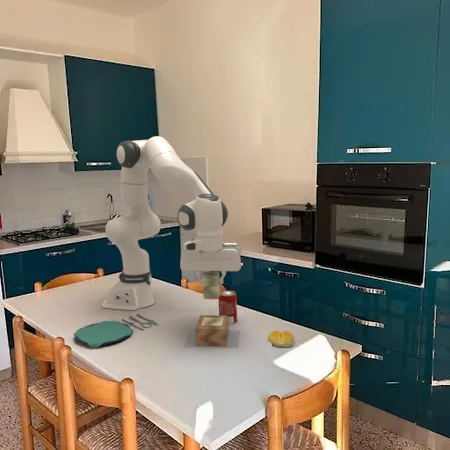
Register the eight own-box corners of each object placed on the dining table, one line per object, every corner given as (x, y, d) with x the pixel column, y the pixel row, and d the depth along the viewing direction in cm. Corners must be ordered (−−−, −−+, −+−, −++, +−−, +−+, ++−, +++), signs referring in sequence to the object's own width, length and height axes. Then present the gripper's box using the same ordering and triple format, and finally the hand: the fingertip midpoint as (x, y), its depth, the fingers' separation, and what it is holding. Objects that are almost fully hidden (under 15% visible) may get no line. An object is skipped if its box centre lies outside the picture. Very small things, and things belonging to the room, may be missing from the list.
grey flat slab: (183, 349, 143) (183, 347, 143) (190, 332, 157) (190, 330, 157) (238, 350, 142) (238, 347, 142) (240, 333, 156) (240, 330, 156)
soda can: (235, 327, 161) (234, 296, 159) (217, 326, 162) (216, 295, 160) (238, 320, 168) (237, 290, 166) (221, 319, 169) (220, 289, 167)
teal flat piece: (65, 336, 157) (64, 330, 156) (136, 315, 177) (136, 310, 177) (91, 354, 143) (90, 348, 142) (165, 329, 163) (165, 323, 163)
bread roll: (269, 337, 152) (269, 326, 152) (295, 339, 150) (295, 328, 150) (265, 347, 145) (265, 335, 144) (292, 349, 142) (292, 338, 142)
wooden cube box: (196, 345, 144) (195, 328, 143) (201, 331, 156) (200, 314, 155) (226, 346, 143) (225, 328, 142) (228, 331, 155) (228, 315, 154)
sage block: (203, 299, 145) (202, 275, 143) (205, 294, 150) (204, 271, 148) (218, 299, 144) (217, 275, 143) (219, 294, 149) (219, 271, 148)
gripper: (241, 241, 146) (242, 280, 148) (181, 241, 148) (183, 280, 150) (240, 244, 140) (241, 286, 142) (178, 245, 142) (180, 286, 144)
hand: (211, 283), depth 146 cm, fingers closed on sage block, 5 cm apart
